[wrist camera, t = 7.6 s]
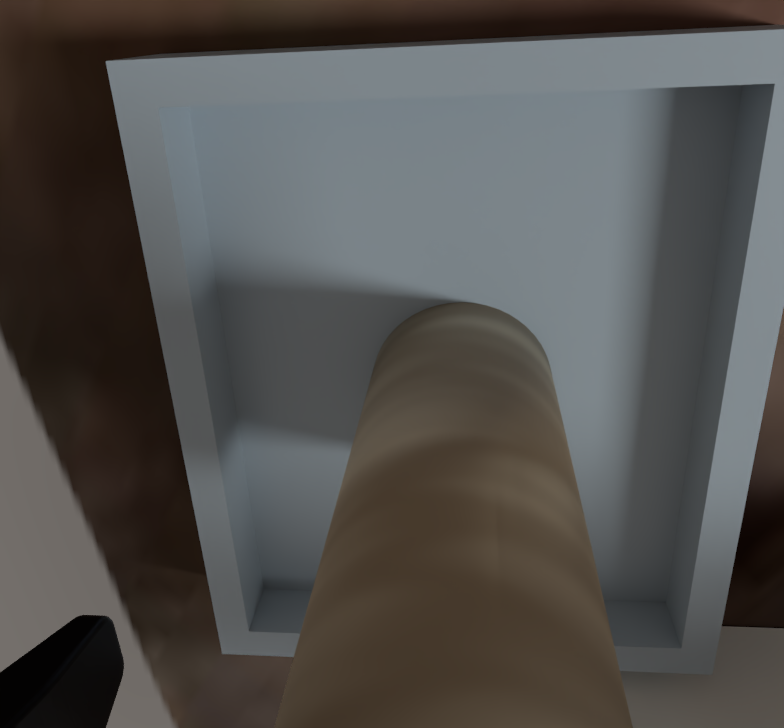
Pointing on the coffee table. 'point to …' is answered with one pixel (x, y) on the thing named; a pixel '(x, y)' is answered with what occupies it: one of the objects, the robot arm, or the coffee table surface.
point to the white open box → (716, 687)
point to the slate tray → (469, 285)
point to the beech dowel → (457, 549)
